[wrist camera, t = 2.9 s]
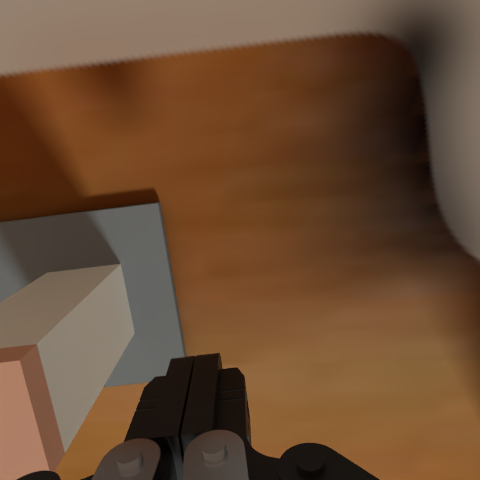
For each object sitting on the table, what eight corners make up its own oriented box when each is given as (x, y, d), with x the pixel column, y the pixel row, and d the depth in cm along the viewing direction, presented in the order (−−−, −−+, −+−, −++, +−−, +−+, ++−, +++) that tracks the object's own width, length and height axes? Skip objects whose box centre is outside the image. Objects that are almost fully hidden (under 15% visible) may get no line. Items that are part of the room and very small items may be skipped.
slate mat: (159, 201, 21) (158, 203, 21) (189, 372, 23) (187, 377, 23) (-171, 243, 22) (-180, 245, 21) (-112, 406, 24) (-120, 412, 23)
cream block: (120, 263, 21) (19, 360, 12) (134, 332, 22) (51, 476, 13) (46, 272, 22) (-115, 376, 12) (63, 341, 22) (-74, 490, 13)
